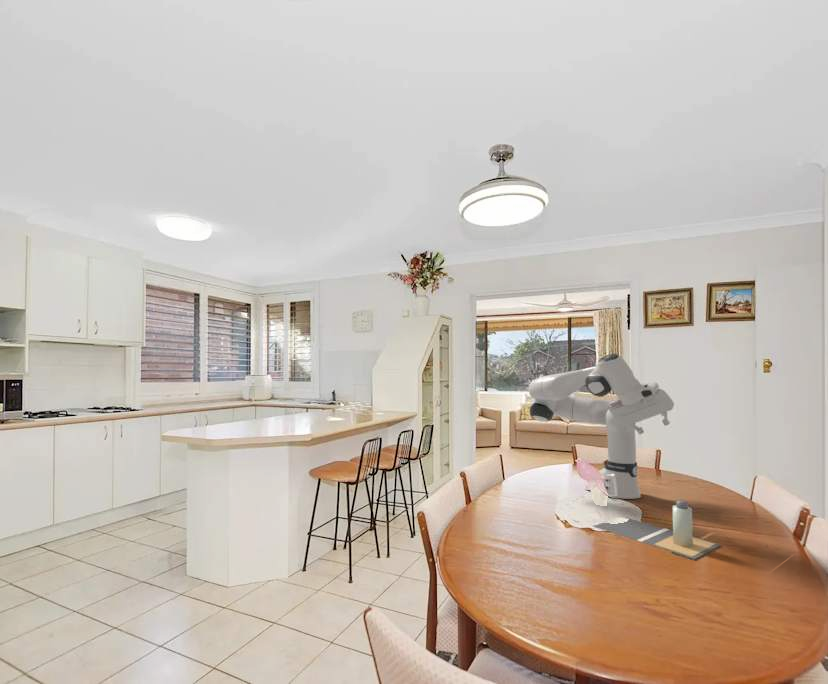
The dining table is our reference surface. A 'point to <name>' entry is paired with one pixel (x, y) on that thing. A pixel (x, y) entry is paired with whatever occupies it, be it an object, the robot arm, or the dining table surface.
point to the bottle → (682, 524)
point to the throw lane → (659, 538)
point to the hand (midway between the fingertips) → (654, 428)
